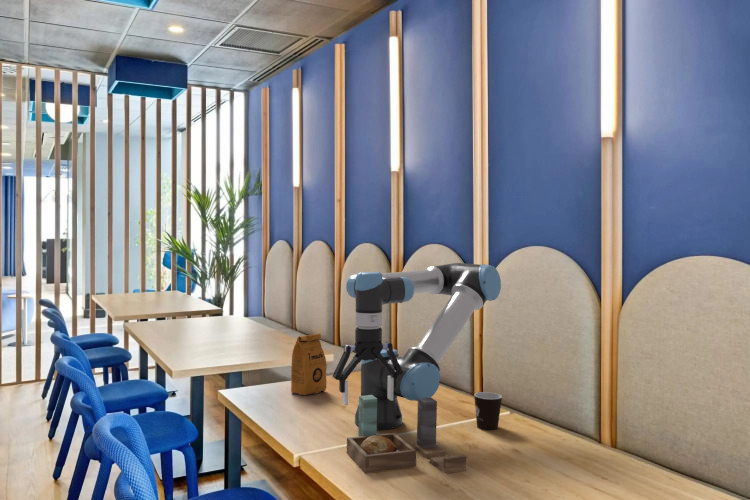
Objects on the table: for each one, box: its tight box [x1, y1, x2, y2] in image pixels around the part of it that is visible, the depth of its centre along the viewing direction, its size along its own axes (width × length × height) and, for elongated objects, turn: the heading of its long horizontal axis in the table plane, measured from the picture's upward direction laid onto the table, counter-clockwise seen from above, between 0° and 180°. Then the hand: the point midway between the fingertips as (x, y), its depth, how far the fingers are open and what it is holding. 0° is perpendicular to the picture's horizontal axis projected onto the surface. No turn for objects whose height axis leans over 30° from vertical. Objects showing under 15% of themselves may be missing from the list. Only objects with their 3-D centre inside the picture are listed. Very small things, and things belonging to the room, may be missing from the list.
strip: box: [429, 454, 467, 475], centre depth 159 cm, size 8×6×4 cm
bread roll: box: [361, 435, 397, 455], centre depth 163 cm, size 10×10×8 cm
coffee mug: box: [473, 391, 503, 431], centre depth 194 cm, size 12×9×10 cm
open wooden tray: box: [346, 395, 417, 474], centre depth 165 cm, size 20×14×14 cm
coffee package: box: [290, 332, 327, 396], centre depth 230 cm, size 10×12×22 cm
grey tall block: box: [412, 397, 447, 459], centre depth 169 cm, size 8×6×14 cm
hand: (368, 401), depth 173 cm, fingers open, 13 cm apart
